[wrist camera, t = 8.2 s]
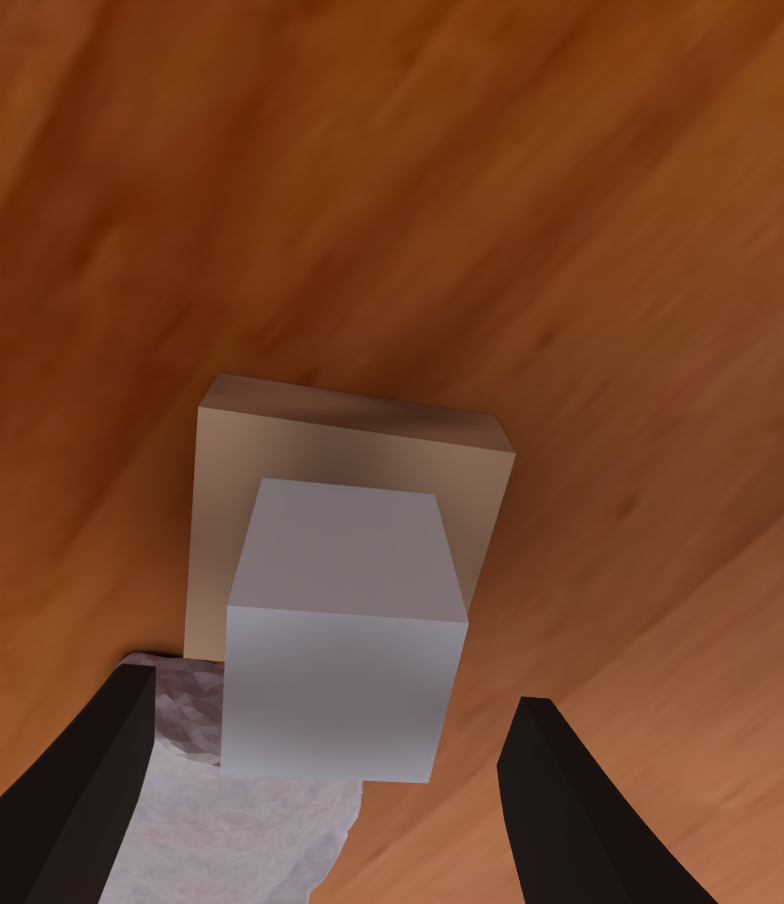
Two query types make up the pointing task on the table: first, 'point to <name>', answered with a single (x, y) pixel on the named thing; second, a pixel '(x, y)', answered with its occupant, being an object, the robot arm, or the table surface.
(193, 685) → the stone block
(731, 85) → the table surface
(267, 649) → the light grey block
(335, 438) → the tan square block
